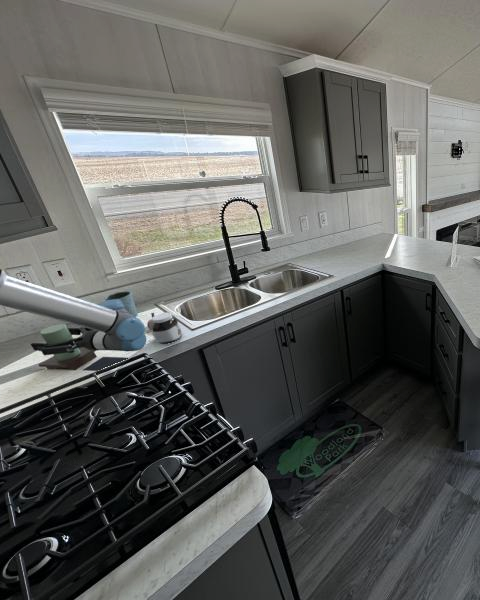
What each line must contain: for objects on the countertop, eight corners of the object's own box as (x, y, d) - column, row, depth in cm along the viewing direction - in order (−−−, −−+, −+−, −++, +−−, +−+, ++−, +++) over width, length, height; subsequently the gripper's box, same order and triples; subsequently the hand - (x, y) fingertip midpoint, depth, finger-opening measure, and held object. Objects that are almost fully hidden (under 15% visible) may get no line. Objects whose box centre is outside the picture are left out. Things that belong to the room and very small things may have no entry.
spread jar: (175, 345, 138) (165, 321, 133) (146, 348, 136) (135, 324, 131) (187, 330, 148) (179, 307, 143) (160, 333, 147) (151, 310, 142)
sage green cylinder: (67, 361, 123) (51, 333, 117) (51, 360, 123) (34, 333, 118) (85, 350, 129) (71, 324, 124) (69, 350, 130) (54, 323, 125)
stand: (71, 374, 122) (66, 365, 120) (43, 373, 123) (38, 364, 121) (101, 355, 133) (96, 347, 131) (75, 354, 134) (70, 346, 132)
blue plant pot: (129, 311, 169) (119, 290, 164) (145, 312, 167) (136, 291, 162) (109, 321, 160) (99, 299, 155) (126, 322, 158) (116, 300, 153)
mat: (102, 379, 118) (102, 378, 118) (70, 378, 119) (70, 377, 119) (132, 358, 130) (132, 357, 129) (103, 357, 131) (102, 356, 131)
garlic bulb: (158, 323, 156) (152, 308, 152) (171, 324, 154) (165, 309, 151) (144, 331, 149) (137, 316, 145) (158, 332, 148) (152, 317, 144)
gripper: (76, 367, 112) (20, 365, 115) (131, 332, 133) (82, 331, 135) (66, 348, 109) (8, 347, 112) (124, 316, 130) (74, 315, 132)
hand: (49, 338), depth 123 cm, fingers open, 10 cm apart
